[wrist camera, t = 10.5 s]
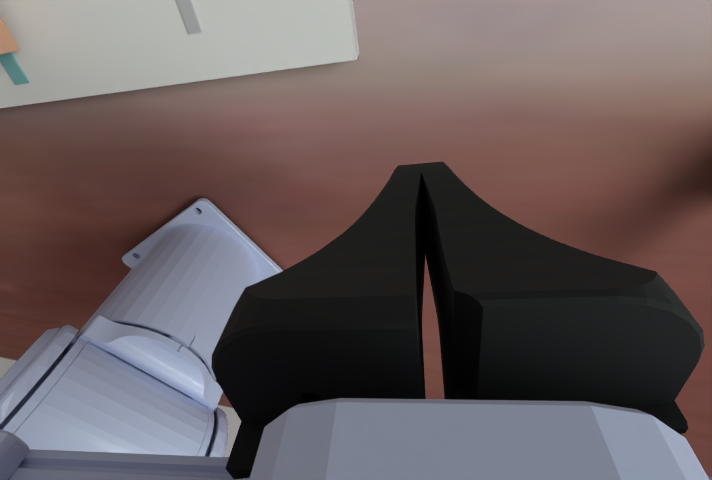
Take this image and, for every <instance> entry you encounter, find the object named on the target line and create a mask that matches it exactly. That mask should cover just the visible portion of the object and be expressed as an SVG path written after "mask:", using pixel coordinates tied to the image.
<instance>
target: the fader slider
mask: <svg viewBox="0 0 712 480" xmlns="http://www.w3.org/2000/svg"><path fill="white" fill-rule="evenodd" d="M16 50H19V47H18V46H17V44H16V42H15V41H14V39H13V37H12V36H11V34H10V32H9V31H8V29H7V27H6V26H5V24H4V23H3V21H2V19H1V18H0V54H4V53H8V52H12V51H16Z"/></svg>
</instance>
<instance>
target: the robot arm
mask: <svg viewBox="0 0 712 480" xmlns="http://www.w3.org/2000/svg"><path fill="white" fill-rule="evenodd" d="M197 208H199V209H201V211H199V210H198V209H197ZM425 254H426V260H427V265H428V270H429V275H430V281H431V286H432V291H433V296H434V302H435V307H436V312H437V318H438V325H439V335H440V347H441V359H442V371H443V384H444V396H445V399H425V380H424V360H423V341H422V306H423V287H424V268H425ZM122 261H123V263H125V264H126V265H127V266H128V267H130V268H131V270H130V272H129V273H128V274H127V275H126V276H125V277H124V279H123V280H122V281H121V282H120V283H119V285H118V286H117V287H116V288H115V289H114V290H113V292H112V293H111V294H110V295H109V296H108V297H107V299H106V300H105V301H104V302H103V303H102V304H101V306H100V307H99V308H98V309H97V310H96V311H95V313H94V314H93V315H92V316H91V317H90V319H89V320H88V321H87V322H86V323H85V324H84V326H83V327H82V329H81V331H80V333H79V334H78V335H77V336H76V334H77V332H78V331H79V330H78V329H76V328H74V327H72V326H70V325H65V326H63V327H62V328H54V329H48V330H46V331H45V332H44V333H43V334H42V335H41V336H40V337H39V338H38V340H37V341H36V342H35V343H34V344H33V345H32V346H31V347H30V348H29V349H28V350H27V351H26V352H25V353H24V354H23V355H22V356H21V358H20V359H19V360H18V361H17V362H16V363H15V364H14V365H13V366H12V367H11V368H10V369H9V370H8V372H7V373H6V374H5V375H4V376H3V377H2V378H1V379H0V480H712V477H708V476H707V475H706V473H705V471H704V469H703V468H702V466H701V464H700V462H699V461H698V459H697V457H696V456H695V454H694V452H693V450H692V449H691V447H690V445H689V443H688V442H687V440H686V438H685V437H683V436H682V434H681V433H685V432H686V431H687V429H688V426H687V421H686V419H685V418H684V416H683V414H682V413H681V411H680V409H679V408H678V406H677V404H676V403H675V401H674V400H675V398H676V397H677V395H678V394H679V392H680V391H681V389H682V387H683V386H684V384H685V383H686V381H687V379H688V378H689V376H690V375H691V373H692V371H693V370H694V368H695V367H696V365H697V363H698V362H699V359H700V357H701V354H702V351H703V349H704V346H705V344H704V336H703V330H702V328H701V327H700V326H699V324H698V323H697V322H696V320H695V319H694V318H693V316H692V315H691V314H690V312H689V311H688V310H687V308H686V307H685V306H684V304H683V303H682V302H681V300H680V299H679V298H678V296H677V295H676V294H675V292H674V291H673V290H672V289H671V288H670V287H669V286H668V284H667V283H666V282H665V281H664V280H663V279H662V278H661V277H660V276H659V275H658V274H657V272H656V271H652V270H648V269H645V268H641V267H637V266H633V265H629V264H626V263H622V262H618V261H614V260H611V259H607V258H603V257H600V256H597V255H593V254H591V253H588V252H585V251H582V250H579V249H576V248H573V247H570V246H567V245H565V244H562V243H560V242H557V241H555V240H552V239H550V238H548V237H546V236H543V235H541V234H539V233H537V232H535V231H533V230H530V229H528V228H526V227H524V226H523V225H521V224H519V223H517V222H515V221H514V220H512V219H510V218H509V217H507V216H505V215H503V214H502V213H500V212H499V211H497V210H496V209H494V208H493V207H491V206H490V205H489V204H487V203H486V202H485V201H483V200H482V199H481V198H479V197H478V196H477V195H476V194H475V193H474V192H473V191H471V190H470V189H469V188H468V187H467V186H466V185H465V184H464V183H463V182H462V181H461V180H460V179H459V178H458V177H457V176H456V175H455V174H454V173H453V172H452V170H451V169H450V168H449V167H448V166H447V165H446V164H445V163H444V162H434V163H423V164H411V165H400V166H398V167H397V168H396V169H395V170H394V172H393V174H392V176H391V177H390V179H389V181H388V182H387V184H386V185H385V187H384V188H383V190H382V191H381V192H380V194H379V195H378V197H377V198H376V199H375V201H374V202H373V203H372V204H371V205H370V207H369V208H368V209H367V210H366V211H365V212H364V214H363V215H362V216H361V217H360V218H359V219H358V220H357V221H356V222H355V223H354V224H353V225H352V226H351V227H350V228H348V229H347V230H346V231H345V232H344V233H343V234H341V235H340V236H339V237H337V238H336V239H335V240H333V241H332V242H330V243H329V244H328V245H326V246H325V247H324V248H322V249H321V250H319V251H318V252H316V253H314V254H313V255H311V256H310V257H308V258H306V259H305V260H303V261H301V262H299V263H297V264H295V265H294V266H292V267H290V268H288V269H286V270H284V271H283V270H282V269H281V268H280V267H279V266H278V265H277V264H276V263H275V262H273V261H272V260H271V259H270V258H269V257H268V256H267V255H266V254H265V253H264V252H263V251H262V250H261V249H260V248H259V247H258V246H257V245H256V244H255V243H254V242H252V241H251V240H250V239H249V238H248V237H247V236H246V235H245V234H244V233H243V232H242V231H241V230H240V229H239V228H238V227H237V226H236V225H235V224H234V223H233V222H231V221H230V220H229V219H228V218H227V217H226V216H225V215H224V214H223V213H222V212H221V211H220V210H219V209H218V208H217V207H216V206H215V205H214V204H213V203H212V202H210V201H209V200H208V199H205V198H200V199H198V200H197V201H196V202H194V203H193V204H192V205H190V206H189V207H188V208H186V209H185V210H184V211H182V212H181V213H180V214H178V215H177V216H176V217H174V218H173V219H172V220H170V221H169V222H168V223H166V224H165V225H164V226H162V227H161V228H160V229H158V230H157V231H156V232H154V233H153V234H151V235H150V236H149V237H147V238H146V239H145V240H143V241H142V242H141V243H139V244H138V245H137V246H135V247H134V248H133V249H131V250H130V251H129V252H127V253H126V254H125V255H124V256H123V257H122ZM75 336H76V337H75ZM215 380H217V382H218V383H217V382H215ZM223 392H224V393H225V395H226V397H227V398H228V400H229V402H230V403H231V405H232V406H233V408H234V410H235V411H236V412H237V414H238V416H239V418H240V419H241V421H242V422H241V425H240V427H239V430H238V434H237V436H236V439H235V442H234V445H233V448H232V451H231V454H230V457H224V456H225V452H226V447H227V440H228V432H227V430H228V424H227V417H226V414H225V413H224V411H223V410H221V409H220V408H218V407H217V405H218V402H219V400H220V397H221V395H222V393H223Z"/></svg>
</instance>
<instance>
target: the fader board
mask: <svg viewBox="0 0 712 480" xmlns="http://www.w3.org/2000/svg"><path fill="white" fill-rule="evenodd" d="M0 18H1V19H2V21H3V23H4V24H5V26H6V27H7V29H8V31H9V32H10V34H11V36H12V37H13V39H14V41H15V42H16V44H17V46H18V47H19V50H16V51H12V52H8V53H4V54H0V108H6V107H13V106H21V105H28V104H35V103H43V102H50V101H57V100H65V99H72V98H79V97H87V96H94V95H101V94H109V93H116V92H123V91H131V90H138V89H145V88H153V87H160V86H167V85H175V84H182V83H189V82H197V81H204V80H211V79H219V78H226V77H233V76H241V75H248V74H255V73H263V72H270V71H277V70H285V69H292V68H299V67H307V66H314V65H321V64H329V63H336V62H343V61H351V60H356V59H357V57H358V55H359V46H358V38H357V30H356V22H355V14H354V7H353V0H0Z"/></svg>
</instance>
